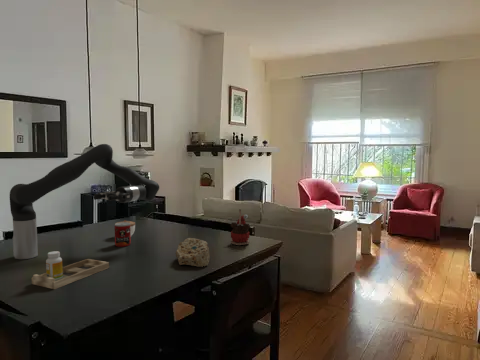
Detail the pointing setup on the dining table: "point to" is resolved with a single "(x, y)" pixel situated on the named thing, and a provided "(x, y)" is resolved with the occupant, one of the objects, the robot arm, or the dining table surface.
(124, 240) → the canned food
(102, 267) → the wooden tray
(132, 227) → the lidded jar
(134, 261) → the dining table surface
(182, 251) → the rock
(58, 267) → the supplement bottle
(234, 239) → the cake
